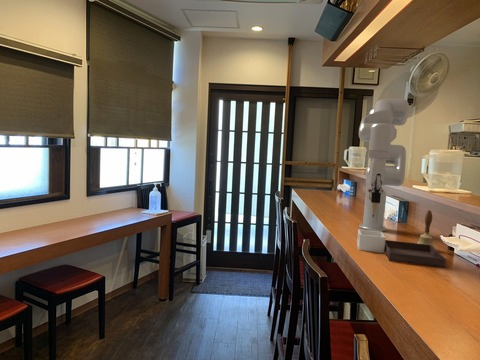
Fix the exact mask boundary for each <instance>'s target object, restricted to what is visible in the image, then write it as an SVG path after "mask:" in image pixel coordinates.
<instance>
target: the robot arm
mask: <svg viewBox="0 0 480 360" xmlns="http://www.w3.org/2000/svg"><path fill="white" fill-rule="evenodd" d="M409 113H410V105H409V102H408V100H407V99H404V98H381V99H379V100H378V101H376V103H375V104H374V107H373V108H372V109H370V110H369V113H368V115H366V116H364V117H363V118H362V119H361V121H360V124H359V128H358V138H359V139H360V141H362V142H365V143H366V142H367V143H369V146H368V156H367V157H368V159H369V166H367V168H366V169H365V196H364V197H365V199H364V208H363V218H362V223H360V224H359V225H358V227H359V228H360V229H361V230H369V231H379V232H386V231H387V227H386V226H385V225H384V220H385V212H386V203H387V192H386V191H385V189H384V188H383V187H382V190H383V193H381V186H390V187H391V186H392V187H401V186H402V185H403V184H404V183H405V176H406V174H405V173H406V163H407V162H406V161H407V151H406V148H405V146H403V145H401V144H391V143H392V142H394V141H395V140H396V138H397V133H398V132H397V131H398V130H397V128H396V126H397V127H398V126H404V125H405V124H406V123H407V121H408V116H409ZM387 164H388V165H387ZM372 183H373V192H372V197H371V199H370V192H369V191H368V189H369V187H370V185H371V184H372ZM375 183H376V184H375ZM371 202H372V203H378V205H377V208H376V211H375V214H374V217H373V215H372V207H371Z"/></svg>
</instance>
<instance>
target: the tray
mask: <svg viewBox="0 0 480 360" xmlns="http://www.w3.org/2000/svg"><path fill="white" fill-rule="evenodd" d="M433 246H434V245H433ZM433 246H432V245H427V244H418V242H416V243H415V242H407V241H400V240H397V241H396V240H391V239H385V248H384V254H385V256H386V257H387V260H388V261H389V262H396V263H403V264H411V265H418V266H419V265H420V266H426V267H435V268H442V269H445V268H446V264H447V259H446V258H445V257H444V256H443V255H442V254H441V253H440V252H439V251H438V250H437V248H434V247H435V246H434V247H433Z"/></svg>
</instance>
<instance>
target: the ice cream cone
mask: <svg viewBox="0 0 480 360" xmlns="http://www.w3.org/2000/svg"><path fill="white" fill-rule="evenodd" d="M375 184H376V183H375ZM382 188H383V185H381V193H383V190H382ZM368 191H369V192H370V199H371V197H372V192H373V183H372V184H371V185H370V187H369V189H368ZM377 205H378V203H372V202H371V207H372V215H373V217H374V214H375V211H376V208H377Z"/></svg>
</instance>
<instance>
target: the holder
mask: <svg viewBox="0 0 480 360" xmlns="http://www.w3.org/2000/svg"><path fill="white" fill-rule="evenodd" d="M385 240H386V236H385V235H384V232H383V231H381V232H379V231H369V230H365V229H361V228H360V229H357V240H356V244H357V249H358V251H365V252H372V253H373V252H374V253H380V254H381V253H383V254H385V252H384V248H385Z"/></svg>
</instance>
